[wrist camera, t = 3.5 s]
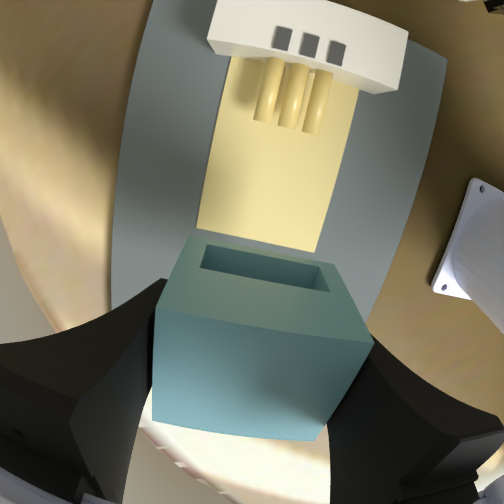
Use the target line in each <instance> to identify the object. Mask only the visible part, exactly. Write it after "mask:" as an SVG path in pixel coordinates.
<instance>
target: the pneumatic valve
mask: <svg viewBox="0 0 504 504" xmlns="http://www.w3.org/2000/svg"><path fill="white" fill-rule="evenodd" d="M458 1H476V0H458ZM483 2H484V4H485V6H486V9H487V11H488V13H494V14H503V15H504V0H483Z"/></svg>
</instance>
